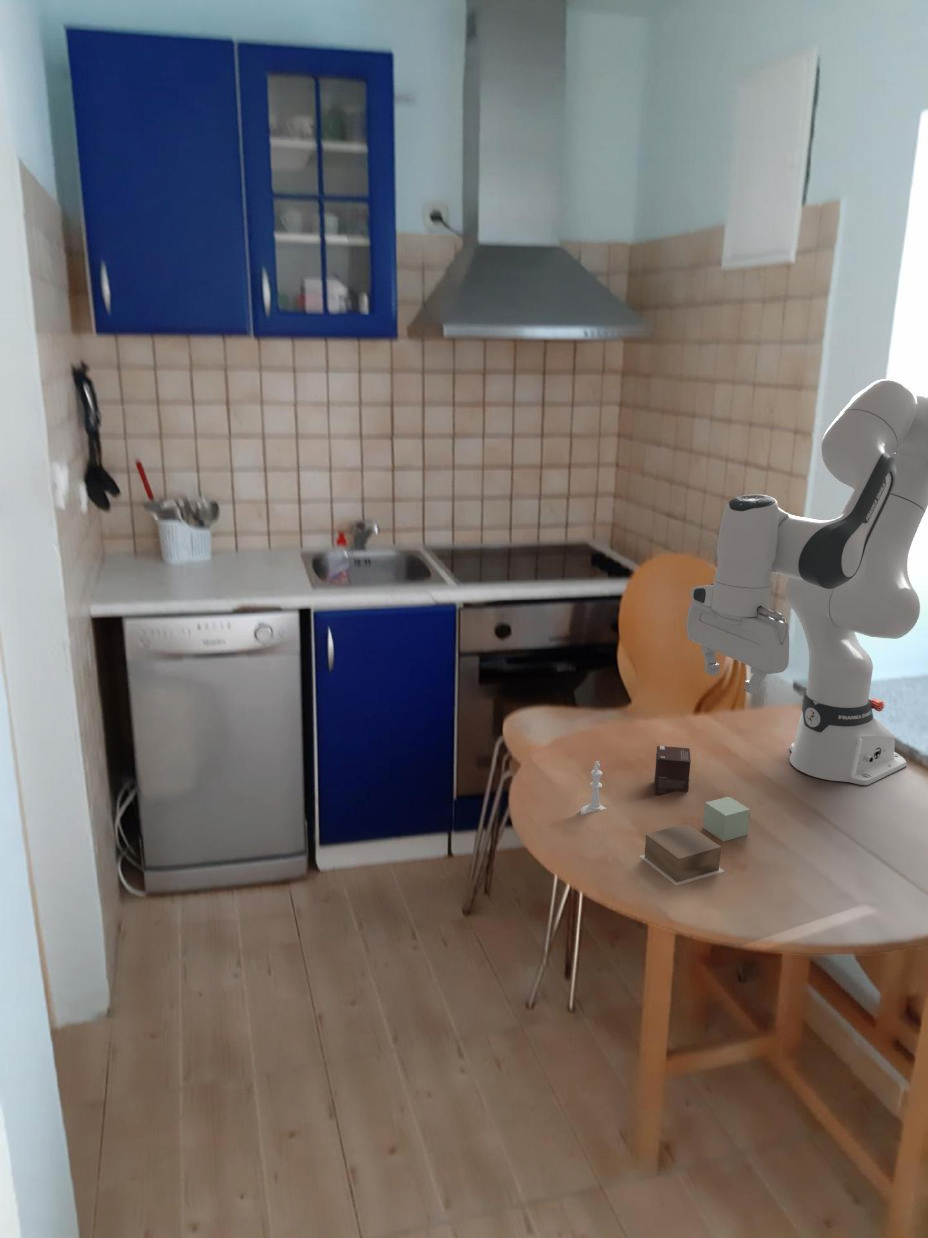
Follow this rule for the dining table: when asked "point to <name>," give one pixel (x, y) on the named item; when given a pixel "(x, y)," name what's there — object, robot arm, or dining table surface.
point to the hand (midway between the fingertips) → (730, 682)
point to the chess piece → (594, 791)
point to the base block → (682, 852)
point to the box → (672, 770)
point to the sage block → (726, 818)
